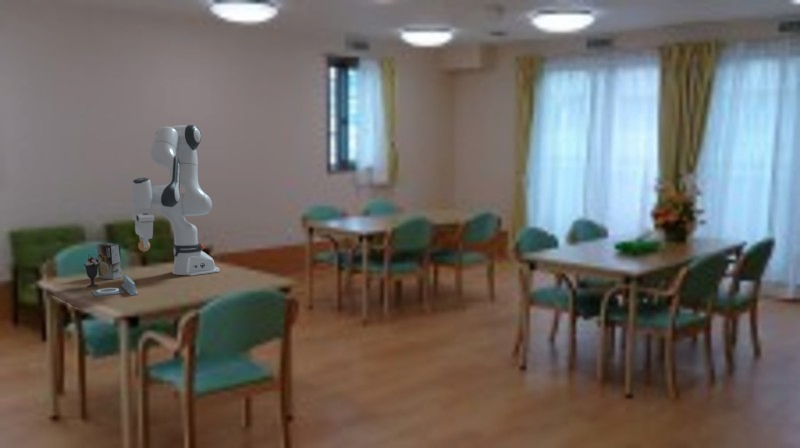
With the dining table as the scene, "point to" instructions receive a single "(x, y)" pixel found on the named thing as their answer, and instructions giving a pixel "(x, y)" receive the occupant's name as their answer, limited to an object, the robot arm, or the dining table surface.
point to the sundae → (92, 270)
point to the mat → (107, 291)
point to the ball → (142, 246)
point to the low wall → (129, 285)
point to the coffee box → (109, 261)
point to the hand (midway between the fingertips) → (144, 246)
